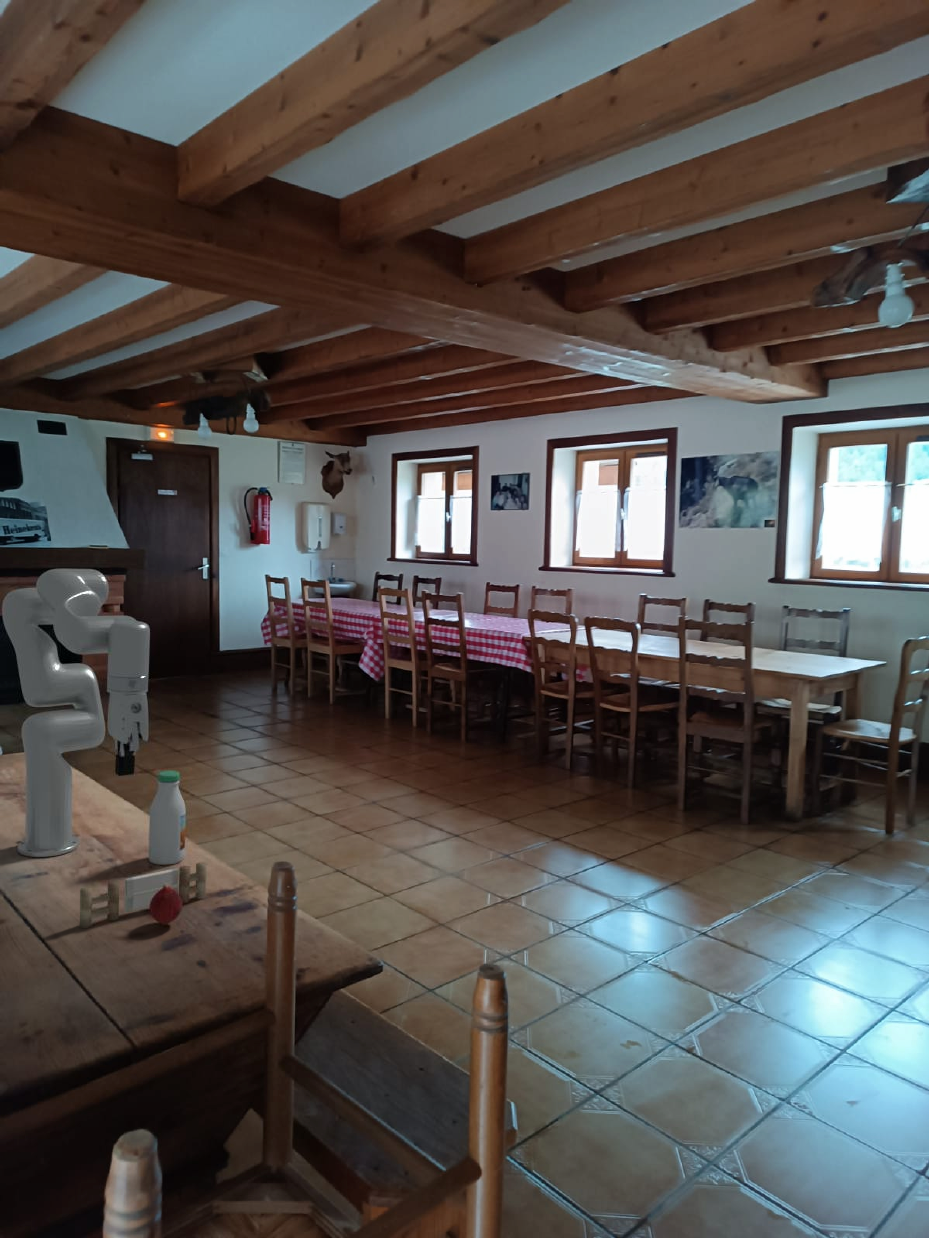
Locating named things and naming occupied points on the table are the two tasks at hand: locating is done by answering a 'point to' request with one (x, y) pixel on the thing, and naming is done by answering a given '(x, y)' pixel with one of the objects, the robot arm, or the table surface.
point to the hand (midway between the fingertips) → (124, 773)
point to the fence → (113, 895)
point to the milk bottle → (167, 821)
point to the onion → (165, 905)
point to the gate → (147, 888)
